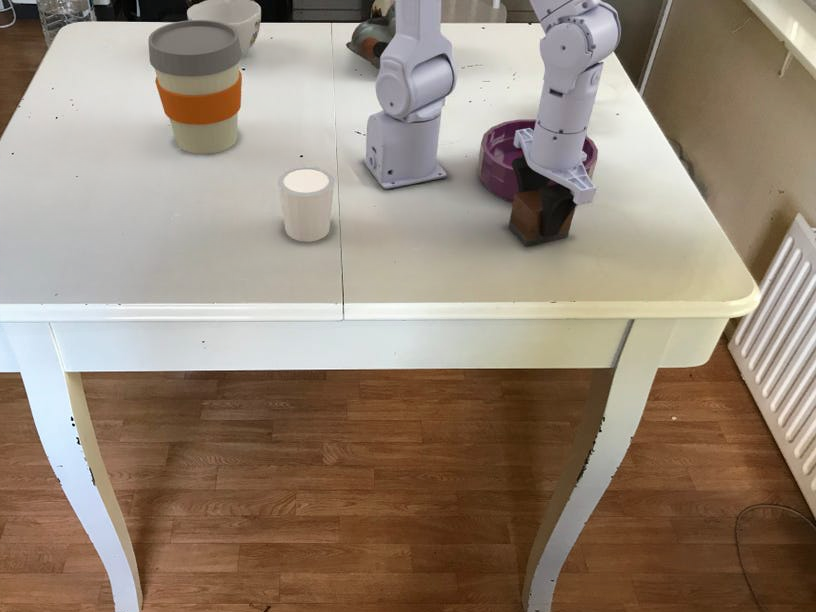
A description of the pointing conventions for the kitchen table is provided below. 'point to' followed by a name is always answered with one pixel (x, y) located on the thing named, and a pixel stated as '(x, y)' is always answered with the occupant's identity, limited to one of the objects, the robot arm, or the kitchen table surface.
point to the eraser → (532, 219)
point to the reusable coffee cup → (199, 82)
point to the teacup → (231, 18)
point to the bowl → (502, 152)
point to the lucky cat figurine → (374, 35)
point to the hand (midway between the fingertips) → (539, 223)
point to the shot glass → (306, 202)
